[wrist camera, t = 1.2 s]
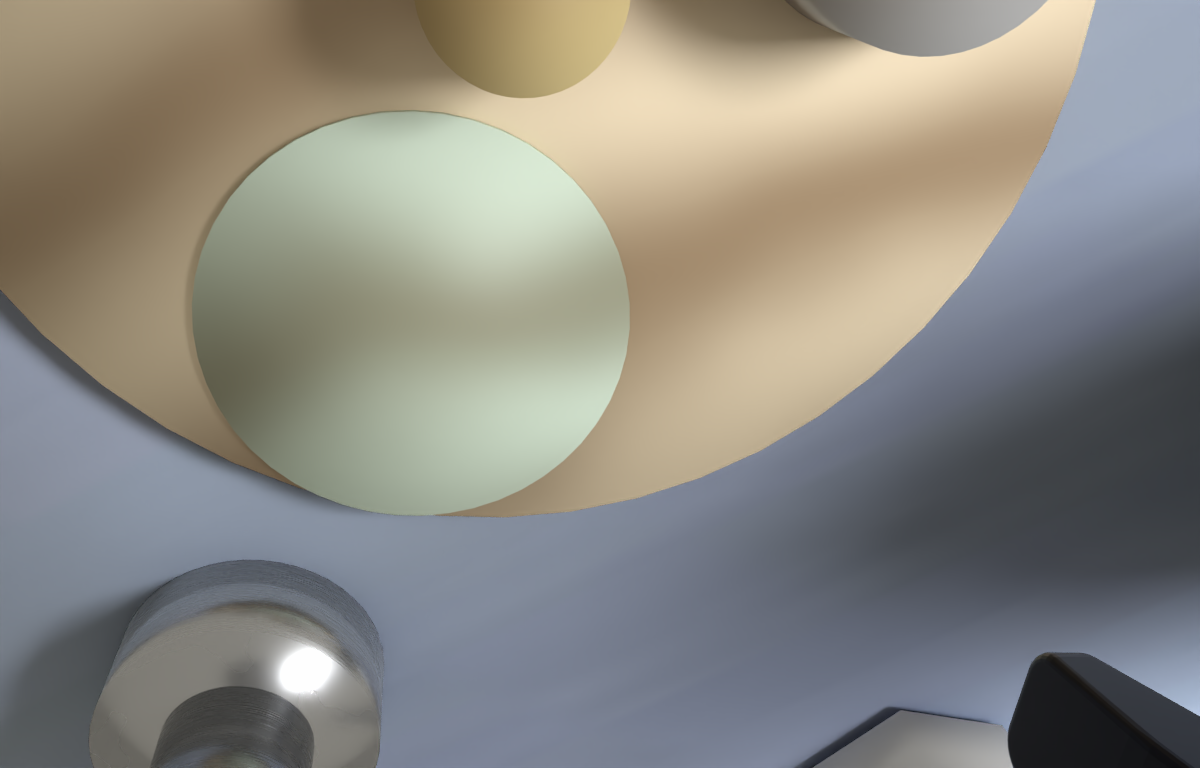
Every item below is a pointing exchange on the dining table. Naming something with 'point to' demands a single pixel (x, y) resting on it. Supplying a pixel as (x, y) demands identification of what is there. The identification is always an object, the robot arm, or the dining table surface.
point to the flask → (925, 744)
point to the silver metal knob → (243, 675)
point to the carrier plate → (507, 221)
